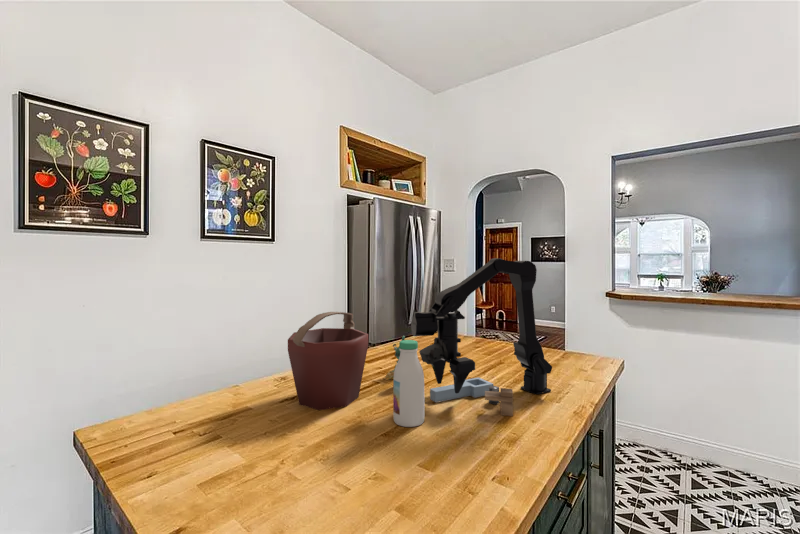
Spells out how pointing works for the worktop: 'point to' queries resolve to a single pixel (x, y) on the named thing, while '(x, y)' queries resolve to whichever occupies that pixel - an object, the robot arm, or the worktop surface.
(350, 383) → the bucket
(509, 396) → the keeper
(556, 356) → the worktop surface
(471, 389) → the link
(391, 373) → the frog figurine
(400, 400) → the milk bottle
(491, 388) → the pintle
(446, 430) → the worktop surface
